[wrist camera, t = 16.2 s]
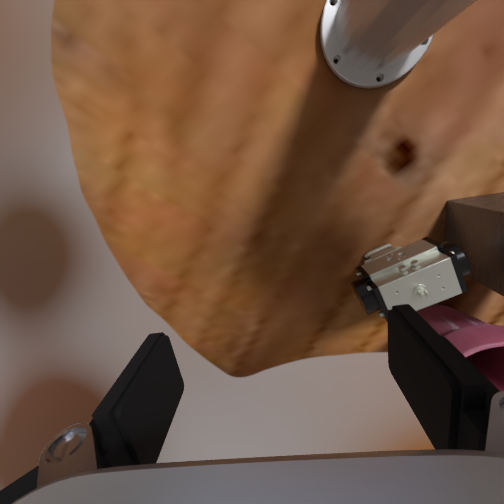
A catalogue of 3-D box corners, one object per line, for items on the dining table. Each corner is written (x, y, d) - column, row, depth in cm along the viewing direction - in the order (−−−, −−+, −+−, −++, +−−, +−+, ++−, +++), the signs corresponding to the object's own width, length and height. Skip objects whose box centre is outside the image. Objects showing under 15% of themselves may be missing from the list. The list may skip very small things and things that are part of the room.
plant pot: (380, 301, 41) (426, 358, 29) (477, 278, 39) (571, 331, 27) (393, 371, 45) (438, 448, 33) (481, 355, 43) (565, 430, 31)
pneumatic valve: (425, 252, 38) (491, 290, 27) (348, 285, 40) (379, 332, 29) (412, 219, 37) (476, 244, 25) (334, 255, 39) (360, 293, 28)
